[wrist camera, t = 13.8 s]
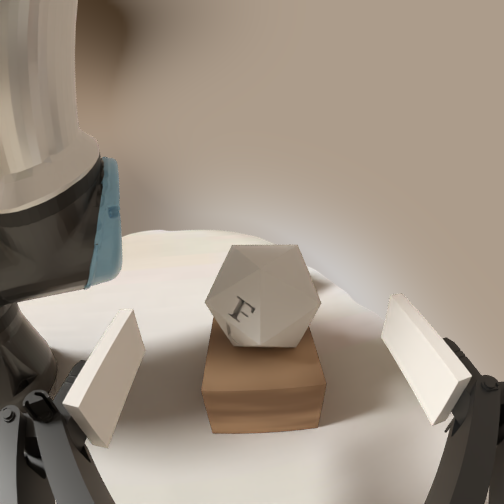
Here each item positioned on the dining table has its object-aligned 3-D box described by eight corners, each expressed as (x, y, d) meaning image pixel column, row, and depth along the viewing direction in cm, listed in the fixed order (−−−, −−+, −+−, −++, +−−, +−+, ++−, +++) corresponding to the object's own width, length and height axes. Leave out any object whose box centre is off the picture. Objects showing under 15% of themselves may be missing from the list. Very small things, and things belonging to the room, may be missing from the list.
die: (205, 326, 27) (169, 282, 19) (261, 262, 30) (252, 198, 22) (274, 379, 24) (269, 362, 15) (329, 306, 27) (349, 253, 19)
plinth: (317, 427, 21) (326, 383, 18) (212, 433, 21) (201, 390, 18) (297, 339, 33) (299, 296, 31) (222, 343, 33) (216, 300, 31)
